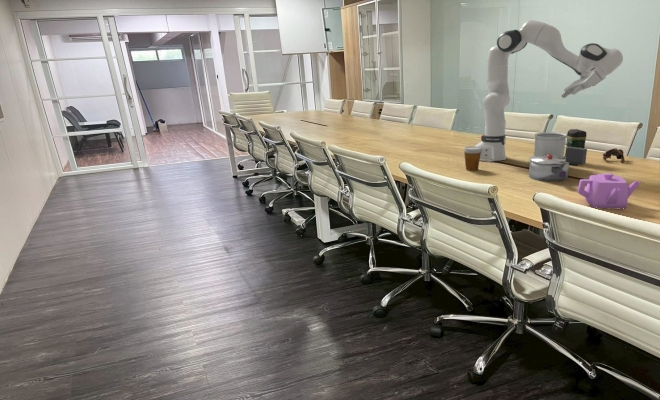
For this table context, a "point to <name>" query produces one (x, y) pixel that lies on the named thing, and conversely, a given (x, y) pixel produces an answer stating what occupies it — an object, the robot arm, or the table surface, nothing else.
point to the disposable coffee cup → (472, 157)
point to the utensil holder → (550, 143)
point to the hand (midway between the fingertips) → (567, 95)
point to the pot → (548, 172)
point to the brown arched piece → (614, 154)
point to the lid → (562, 157)
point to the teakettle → (606, 190)
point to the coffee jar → (575, 140)
